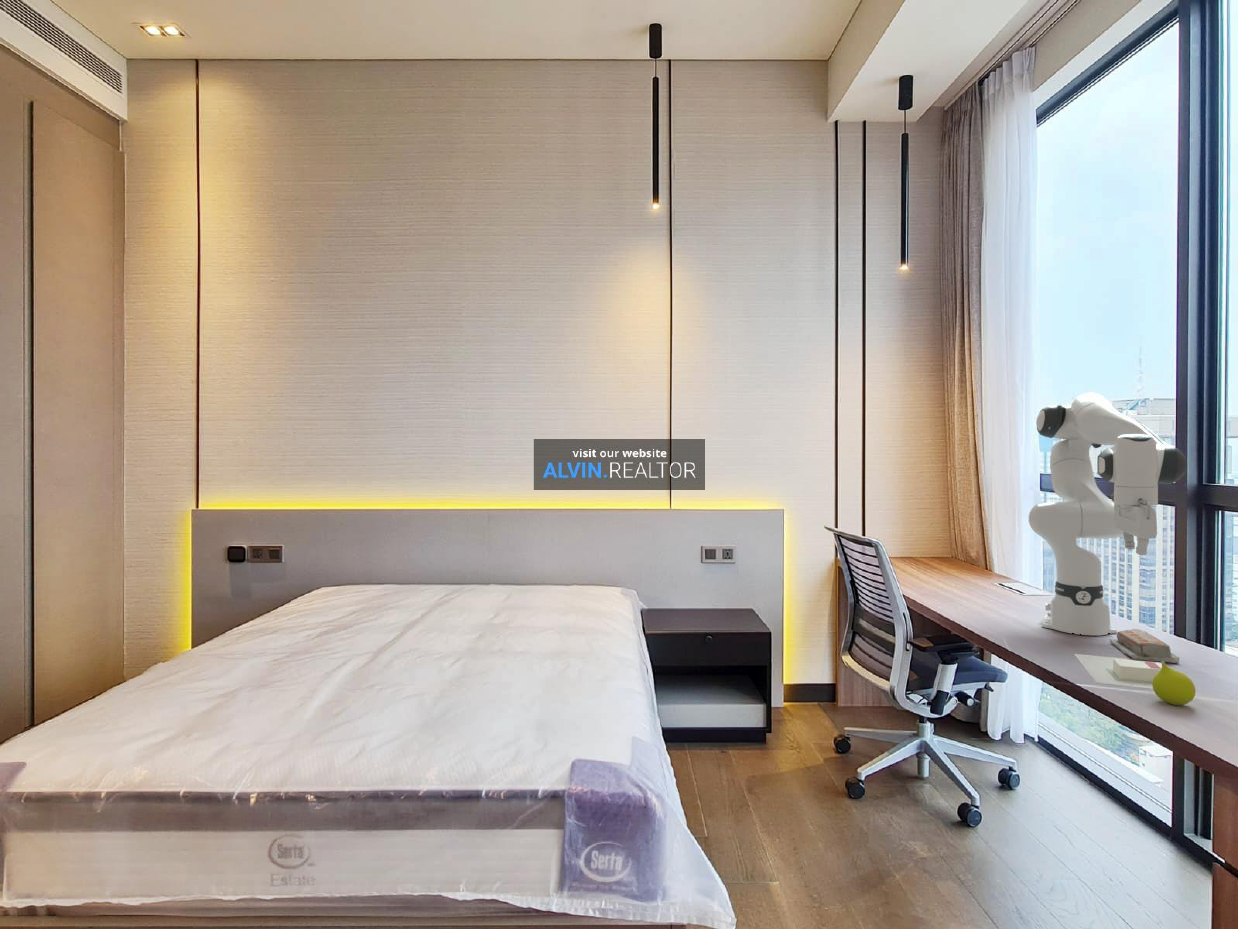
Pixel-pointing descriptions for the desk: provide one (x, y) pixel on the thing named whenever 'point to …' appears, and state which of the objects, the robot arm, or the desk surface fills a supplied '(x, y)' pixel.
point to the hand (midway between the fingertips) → (1135, 551)
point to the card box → (1136, 669)
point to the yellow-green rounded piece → (1173, 686)
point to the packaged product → (1143, 646)
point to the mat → (1108, 671)
